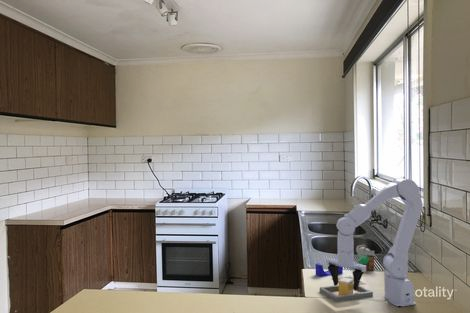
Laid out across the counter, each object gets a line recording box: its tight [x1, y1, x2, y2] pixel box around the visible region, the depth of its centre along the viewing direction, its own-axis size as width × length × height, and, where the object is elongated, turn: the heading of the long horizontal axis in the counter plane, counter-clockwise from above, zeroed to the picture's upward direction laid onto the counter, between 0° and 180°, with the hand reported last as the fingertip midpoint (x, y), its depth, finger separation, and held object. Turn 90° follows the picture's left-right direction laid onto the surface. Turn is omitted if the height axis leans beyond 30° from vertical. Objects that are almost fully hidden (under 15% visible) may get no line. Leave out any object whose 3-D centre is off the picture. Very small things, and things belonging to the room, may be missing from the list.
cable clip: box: [315, 262, 344, 278], centre depth 148 cm, size 12×4×6 cm, turn 111°
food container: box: [355, 244, 376, 272], centre depth 159 cm, size 12×6×10 cm, turn 178°
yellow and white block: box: [338, 276, 354, 296], centre depth 125 cm, size 4×5×6 cm
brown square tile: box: [331, 275, 366, 286], centre depth 138 cm, size 10×10×1 cm
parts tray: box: [319, 283, 374, 303], centre depth 125 cm, size 10×16×2 cm, turn 109°
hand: (345, 287), depth 125 cm, fingers open, 7 cm apart
